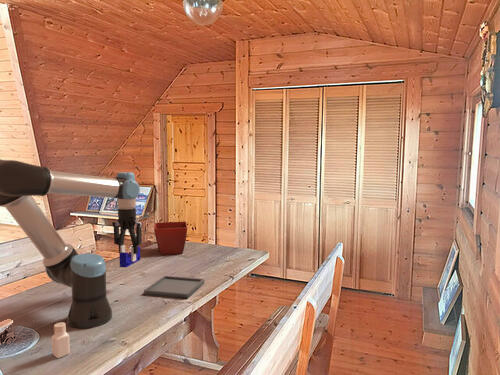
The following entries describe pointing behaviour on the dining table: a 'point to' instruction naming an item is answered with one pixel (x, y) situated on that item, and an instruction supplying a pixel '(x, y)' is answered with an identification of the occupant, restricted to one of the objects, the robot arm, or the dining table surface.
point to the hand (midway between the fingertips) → (128, 260)
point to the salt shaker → (60, 341)
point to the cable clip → (128, 258)
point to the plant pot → (170, 237)
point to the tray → (174, 287)
